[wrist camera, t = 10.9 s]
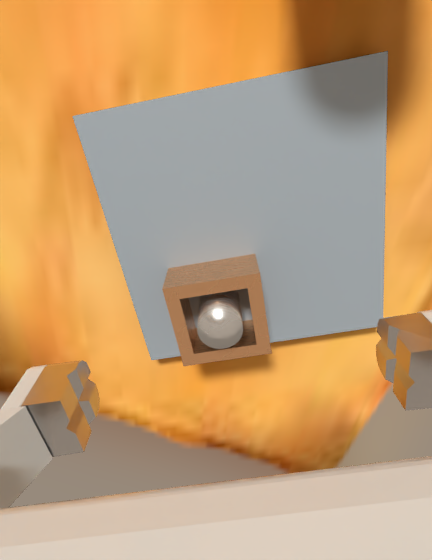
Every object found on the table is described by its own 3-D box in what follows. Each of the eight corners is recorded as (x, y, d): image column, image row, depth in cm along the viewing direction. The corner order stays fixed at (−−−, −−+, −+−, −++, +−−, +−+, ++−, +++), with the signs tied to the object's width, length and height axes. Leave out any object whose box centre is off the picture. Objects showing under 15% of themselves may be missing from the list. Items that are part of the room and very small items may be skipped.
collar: (187, 339, 31) (183, 366, 28) (168, 268, 28) (162, 288, 25) (266, 327, 31) (271, 353, 28) (255, 253, 28) (259, 272, 25)
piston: (204, 318, 30) (202, 351, 26) (196, 284, 29) (193, 314, 25) (242, 312, 30) (246, 345, 26) (236, 278, 29) (239, 307, 25)
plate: (154, 349, 34) (151, 360, 32) (80, 115, 25) (72, 116, 24) (375, 316, 32) (382, 326, 31) (378, 53, 24) (387, 50, 22)
